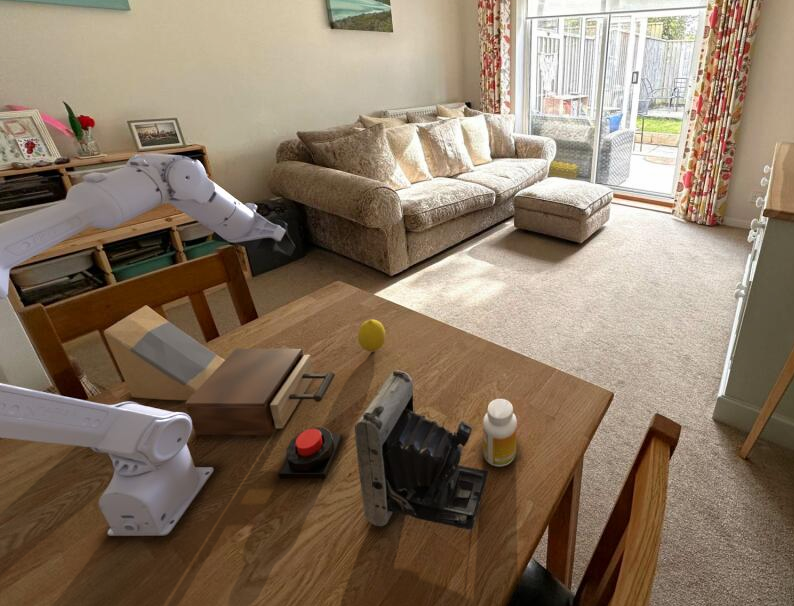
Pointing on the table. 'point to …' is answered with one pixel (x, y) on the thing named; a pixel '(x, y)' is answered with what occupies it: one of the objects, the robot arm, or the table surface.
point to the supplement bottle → (499, 433)
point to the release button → (309, 442)
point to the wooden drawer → (296, 390)
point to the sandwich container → (159, 357)
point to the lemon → (371, 335)
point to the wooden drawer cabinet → (241, 392)
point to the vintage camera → (413, 462)
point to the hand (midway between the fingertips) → (273, 247)
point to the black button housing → (311, 458)
